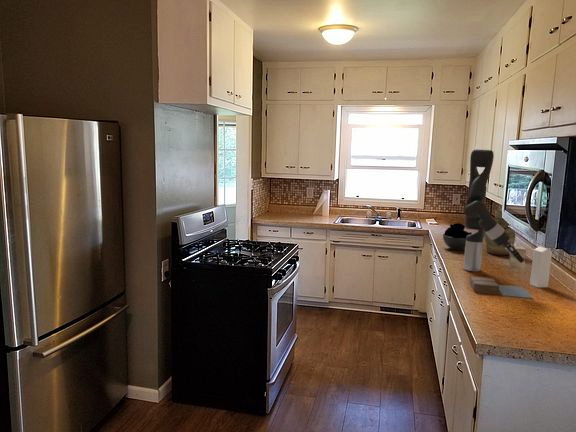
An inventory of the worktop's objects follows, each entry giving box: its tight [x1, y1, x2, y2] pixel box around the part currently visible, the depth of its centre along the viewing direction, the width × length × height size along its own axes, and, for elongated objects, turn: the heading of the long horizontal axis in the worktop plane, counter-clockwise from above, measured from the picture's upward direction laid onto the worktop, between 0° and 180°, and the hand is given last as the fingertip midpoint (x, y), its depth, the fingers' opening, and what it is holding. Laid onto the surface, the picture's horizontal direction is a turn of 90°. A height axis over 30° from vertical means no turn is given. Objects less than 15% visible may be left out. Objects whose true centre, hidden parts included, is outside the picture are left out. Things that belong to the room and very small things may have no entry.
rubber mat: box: [498, 284, 534, 300], centre depth 219 cm, size 18×13×1 cm
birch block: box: [508, 246, 527, 271], centre depth 217 cm, size 4×6×10 cm, turn 76°
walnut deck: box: [469, 275, 500, 295], centre depth 222 cm, size 15×11×4 cm
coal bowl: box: [442, 222, 473, 251], centre depth 314 cm, size 20×20×19 cm
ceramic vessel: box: [483, 210, 516, 257], centre depth 305 cm, size 19×21×30 cm
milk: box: [529, 245, 553, 288], centre depth 230 cm, size 6×6×22 cm
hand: (521, 260), depth 216 cm, fingers closed on birch block, 4 cm apart
